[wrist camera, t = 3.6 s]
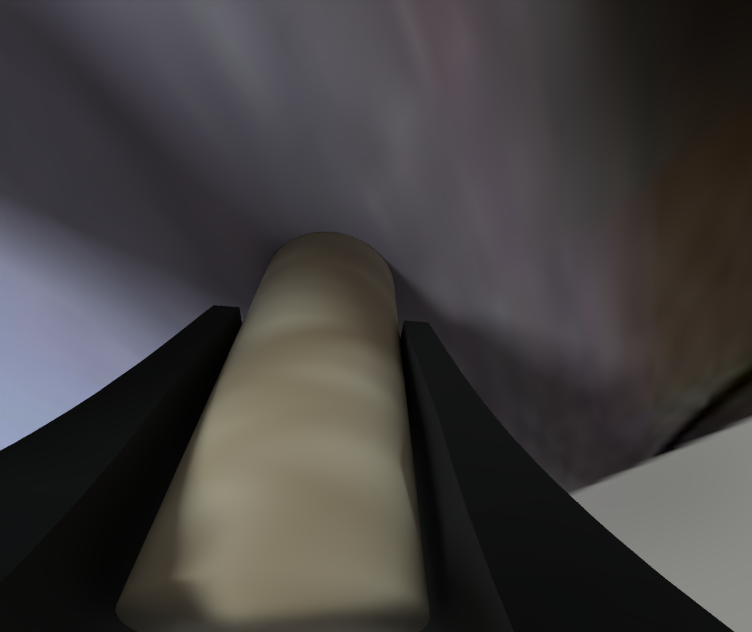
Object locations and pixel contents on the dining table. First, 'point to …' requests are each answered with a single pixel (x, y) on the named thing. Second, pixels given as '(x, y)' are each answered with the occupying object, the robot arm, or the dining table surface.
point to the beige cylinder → (295, 468)
